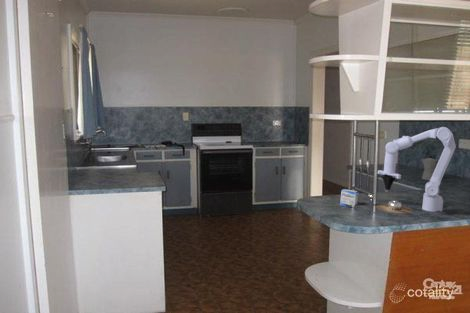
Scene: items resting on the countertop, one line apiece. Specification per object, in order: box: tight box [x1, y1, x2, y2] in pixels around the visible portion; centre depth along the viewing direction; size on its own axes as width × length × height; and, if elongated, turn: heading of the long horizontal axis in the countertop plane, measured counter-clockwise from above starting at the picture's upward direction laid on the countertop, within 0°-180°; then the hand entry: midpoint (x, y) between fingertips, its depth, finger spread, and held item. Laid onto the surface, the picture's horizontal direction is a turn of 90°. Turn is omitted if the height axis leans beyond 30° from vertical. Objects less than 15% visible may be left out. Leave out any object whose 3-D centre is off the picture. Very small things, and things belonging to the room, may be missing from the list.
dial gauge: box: [367, 193, 374, 207], centre depth 212 cm, size 4×4×7 cm
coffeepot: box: [420, 155, 439, 181], centre depth 302 cm, size 15×9×18 cm, turn 70°
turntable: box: [375, 203, 414, 214], centre depth 207 cm, size 18×18×2 cm
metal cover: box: [388, 199, 402, 210], centre depth 207 cm, size 6×6×4 cm
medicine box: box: [339, 188, 359, 209], centre depth 214 cm, size 8×4×9 cm, turn 56°
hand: (387, 189), depth 215 cm, fingers closed
